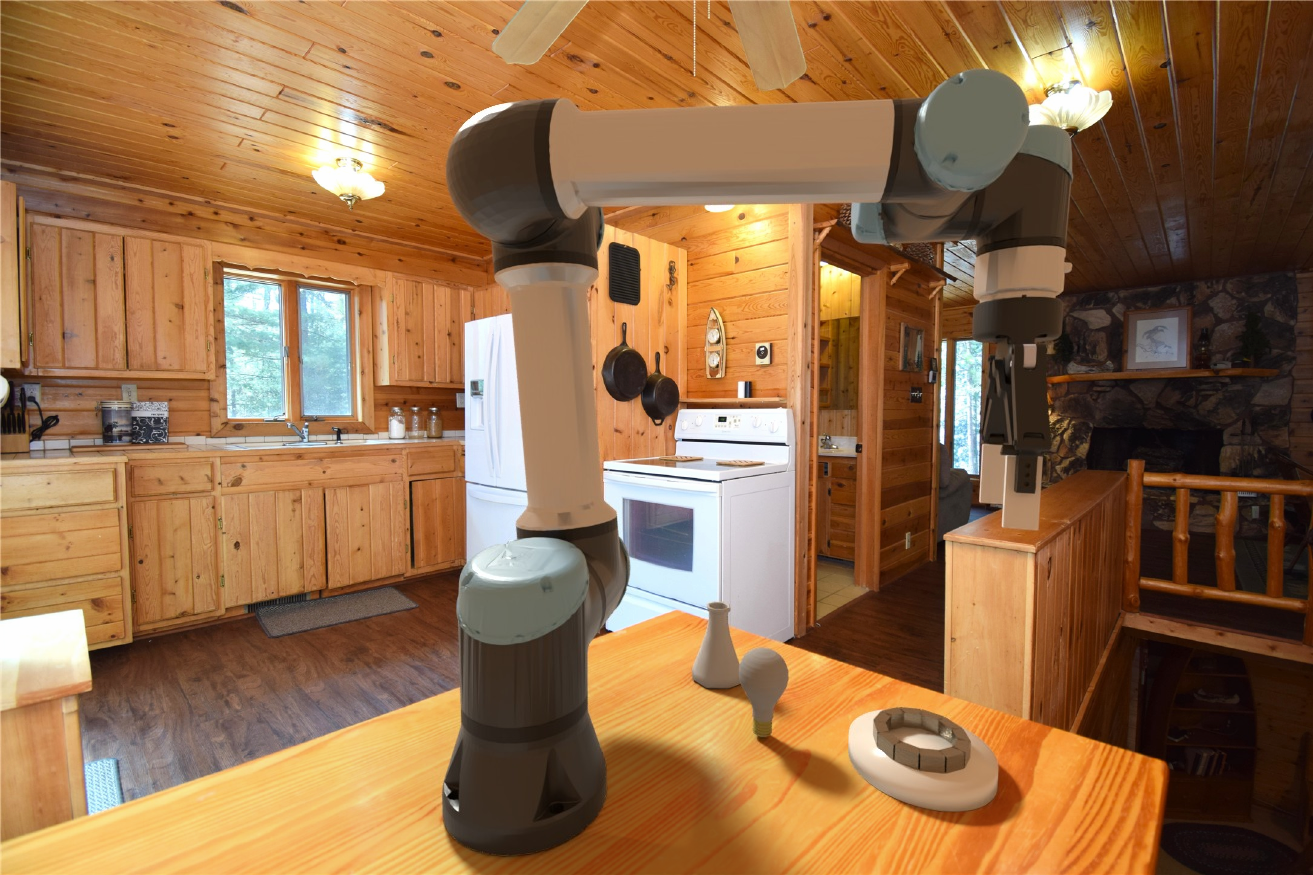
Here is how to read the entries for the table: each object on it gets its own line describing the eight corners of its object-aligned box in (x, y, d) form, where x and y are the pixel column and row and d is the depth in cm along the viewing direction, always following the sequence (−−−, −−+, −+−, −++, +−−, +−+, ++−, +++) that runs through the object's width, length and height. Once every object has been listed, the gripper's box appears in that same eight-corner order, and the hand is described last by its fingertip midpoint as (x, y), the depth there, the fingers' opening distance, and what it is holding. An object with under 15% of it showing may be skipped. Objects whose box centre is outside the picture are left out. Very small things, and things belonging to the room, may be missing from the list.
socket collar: (883, 766, 57) (883, 751, 57) (867, 717, 66) (867, 703, 65) (982, 777, 55) (983, 761, 55) (952, 725, 64) (953, 711, 64)
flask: (683, 669, 82) (683, 599, 81) (730, 662, 84) (731, 593, 83) (702, 694, 75) (703, 618, 74) (754, 686, 77) (755, 611, 76)
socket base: (859, 800, 55) (860, 780, 55) (840, 720, 69) (840, 703, 69) (1022, 820, 52) (1023, 799, 52) (969, 732, 66) (969, 715, 66)
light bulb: (787, 753, 62) (789, 662, 62) (736, 747, 63) (737, 657, 63) (787, 725, 68) (788, 641, 67) (739, 720, 69) (740, 637, 68)
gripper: (1109, 272, 44) (1090, 547, 46) (1032, 315, 67) (1021, 497, 69) (996, 278, 47) (982, 538, 49) (959, 317, 70) (950, 493, 72)
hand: (1005, 514), depth 59 cm, fingers open, 13 cm apart
